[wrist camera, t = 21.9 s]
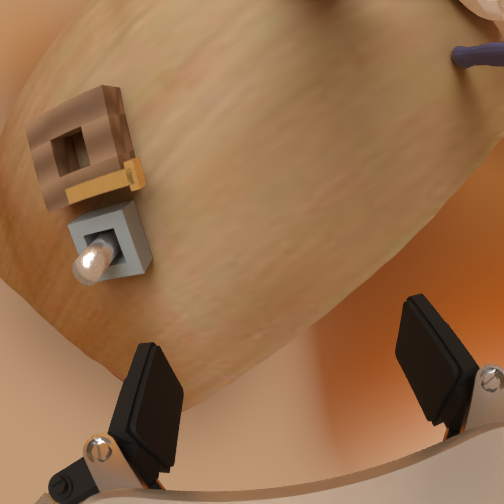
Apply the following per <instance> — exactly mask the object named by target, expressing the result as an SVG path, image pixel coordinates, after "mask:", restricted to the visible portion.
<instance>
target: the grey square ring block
mask: <svg viewBox="0 0 504 504" xmlns="http://www.w3.org/2000/svg"><path fill="white" fill-rule="evenodd" d="M68 228H69V231H70V234H71V236H72V239H73V241H74V244H75V246H76V249H77V251H78V254H79V256H80V255H81V254H82V253H83V252H84V251H85V250H86V248H87V247H88V246H89V245H90V244H91V243H92V242H93V241H94V240H95V239H96V238H97V237H98V236H99V235H100V231H103V230H107V229H111V228H114V230H115V233H116V236H117V239H118V241H119V244H120V247H121V250H122V251H120V252H119V253H118V254H117V255H116V256H115V258H114V259H113V260H112V262H111V263H110V265H109V266H108V267H107V269H106V270H105V271H104V273H103V274H102V275H101V277H100V278H99V280H98V281H104V280H110V279H115V278H121V277H127V276H133V275H138V274H144V273H145V272H146V270H147V268H148V266H149V264H150V262H151V260H152V259H153V256H152V253H151V251H150V248H149V245H148V242H147V239H146V236H145V233H144V230H143V227H142V224H141V220H140V217H139V214H138V211H137V208H136V204H135V201H134V199H133V200H129V201H126V202H122V203H118V204H115V205H111V206H108V207H104V208H101V209H97V210H94V211H91V212H88V213H84V214H82V215H80V216H79V217H78V218H76V219H75V220H74V221H73V222H71V223H70V224H69V225H68ZM98 281H97V282H98Z"/></svg>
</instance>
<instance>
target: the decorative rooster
mask: <svg viewBox="0 0 504 504" xmlns="http://www.w3.org/2000/svg"><path fill="white" fill-rule="evenodd" d="M459 1H460V2H461V3H462V4H463V5H464V6H466V7H467V8H468V9H469V10H471V11H472V12H473V13H475V14H476V15H478V16H480V17H482V18H485V19H488V20H493V21H496V20H499V21H504V0H459Z"/></svg>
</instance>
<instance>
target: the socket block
mask: <svg viewBox="0 0 504 504" xmlns="http://www.w3.org/2000/svg"><path fill="white" fill-rule="evenodd" d="M25 128H26V133H27V138H28V142H29V147H30V151H31V155H32V159H33V163H34V167H35V171H36V174H37V178H38V181H39V185H40V188H41V191H42V195H43V198H44V201H45V204H46V207H47V210H48V213H49V212H51V211H54V210H57V209H59V208H62V207H65V206H68V205H71V204H74V203H77V202H80V201H83V200H86V199H89V198H92V197H95V196H98V195H101V194H104V193H101V194H98V195H95V196H92V197H89V198H86V199H83V200H80V201H77V202H74V203H71V204H69V201H68V198H67V195H66V192H65V189H67V188H69V187H71V186H73V185H75V184H78V183H80V182H83V181H86V180H89V179H92V178H94V177H97V176H100V175H103V174H106V173H109V172H112V171H115V170H119V169H122V168H125V167H124V164H123V162H126V161H128V160H130V159H133V158H135V155H134V151H133V146H132V142H131V138H130V134H129V130H128V125H127V121H126V116H125V112H124V107H123V102H122V97H121V92H120V88H118V87H111V86H105V85H101V86H98V87H96V88H94V89H92V90H89V91H87V92H85V93H83V94H81V95H78V96H76V97H74V98H72V99H70V100H68V101H66V102H64V103H62V104H60V105H58V106H57V107H55V108H53V109H51V110H49V111H47V112H46V113H44V114H42V115H40V116H38V117H37V118H35V119H33V120H32V121H30V122H28V123H27V124H25ZM81 131H82V133H83V137H84V141H85V146H86V150H87V154H88V157H89V161H90V165H88V166H86V167H83V168H79V164H78V160H77V157H76V153H75V149H74V145H73V140H72V136H71V135H74V134H76V133H78V132H81ZM125 187H127V186H125ZM121 188H124V187H121ZM121 188H118V189H121ZM118 189H114V190H118ZM114 190H111V191H114ZM111 191H108V192H111ZM108 192H105V193H108Z"/></svg>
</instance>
